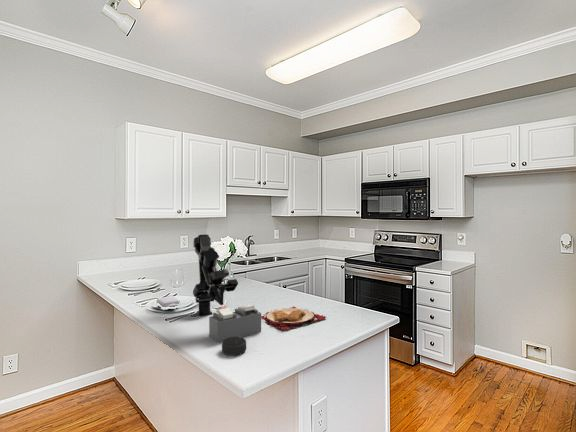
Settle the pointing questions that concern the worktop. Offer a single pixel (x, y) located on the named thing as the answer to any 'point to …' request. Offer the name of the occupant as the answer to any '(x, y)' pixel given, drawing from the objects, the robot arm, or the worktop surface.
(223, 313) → the rocker
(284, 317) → the plate with food
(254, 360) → the worktop surface
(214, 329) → the switch box
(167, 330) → the worktop surface
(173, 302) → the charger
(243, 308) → the block
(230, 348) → the smart speaker
